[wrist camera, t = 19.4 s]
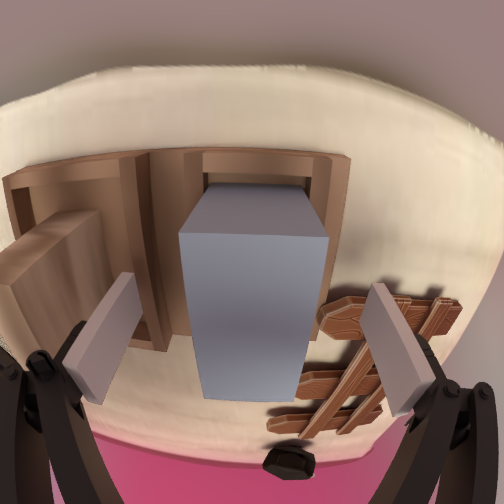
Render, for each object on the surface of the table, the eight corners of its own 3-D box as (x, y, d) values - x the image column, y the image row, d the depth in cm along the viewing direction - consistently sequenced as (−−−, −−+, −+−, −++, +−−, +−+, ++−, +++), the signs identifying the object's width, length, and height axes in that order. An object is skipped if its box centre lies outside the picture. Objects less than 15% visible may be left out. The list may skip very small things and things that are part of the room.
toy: (264, 471, 39) (252, 472, 28) (275, 444, 43) (266, 435, 33) (311, 482, 36) (316, 487, 25) (321, 453, 40) (329, 448, 30)
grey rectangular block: (217, 318, 20) (204, 398, 14) (211, 182, 15) (178, 232, 9) (285, 321, 20) (293, 401, 14) (300, 185, 15) (329, 237, 9)
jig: (62, 307, 22) (46, 328, 19) (25, 167, 15) (-2, 178, 13) (313, 330, 22) (319, 359, 19) (344, 155, 15) (363, 165, 12)
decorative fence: (462, 291, 20) (331, 280, 18) (472, 302, 18) (338, 296, 16) (365, 420, 31) (262, 429, 29) (368, 430, 29) (263, 441, 27)
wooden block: (79, 290, 19) (23, 369, 11) (57, 211, 16) (-28, 276, 8) (118, 296, 19) (65, 386, 11) (99, 209, 16) (9, 285, 8)
